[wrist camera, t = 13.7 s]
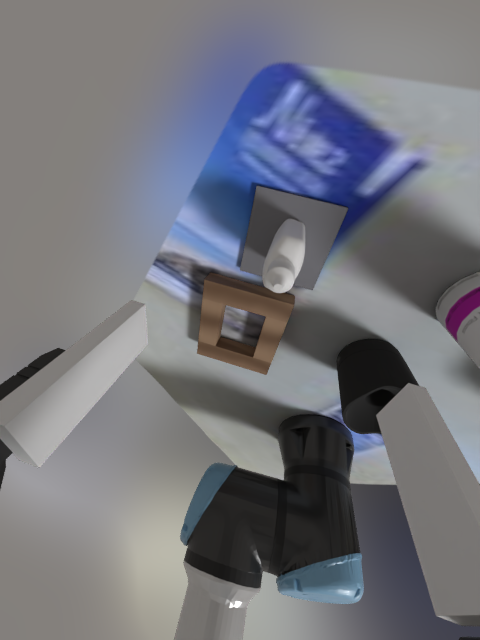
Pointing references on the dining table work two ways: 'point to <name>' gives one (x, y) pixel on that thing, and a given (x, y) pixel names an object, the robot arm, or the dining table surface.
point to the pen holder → (369, 382)
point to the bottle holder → (249, 299)
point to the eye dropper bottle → (285, 257)
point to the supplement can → (462, 314)
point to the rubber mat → (314, 214)
